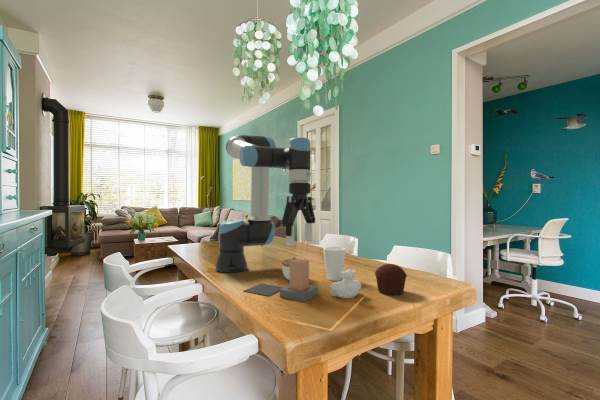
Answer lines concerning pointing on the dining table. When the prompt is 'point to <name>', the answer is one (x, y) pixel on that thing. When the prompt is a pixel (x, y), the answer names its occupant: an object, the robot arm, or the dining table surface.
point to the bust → (346, 285)
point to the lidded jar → (286, 268)
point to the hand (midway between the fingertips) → (299, 243)
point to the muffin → (390, 279)
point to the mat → (264, 289)
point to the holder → (299, 293)
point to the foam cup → (334, 262)
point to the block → (299, 274)
